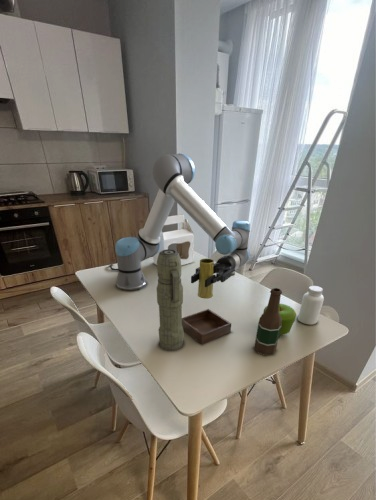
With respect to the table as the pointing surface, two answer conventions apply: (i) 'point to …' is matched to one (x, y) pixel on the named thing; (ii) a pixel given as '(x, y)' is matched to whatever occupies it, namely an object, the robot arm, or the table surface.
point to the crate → (205, 326)
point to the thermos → (170, 299)
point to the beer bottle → (269, 325)
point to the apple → (286, 317)
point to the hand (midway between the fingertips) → (198, 281)
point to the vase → (204, 274)
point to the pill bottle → (311, 305)
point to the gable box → (178, 239)
